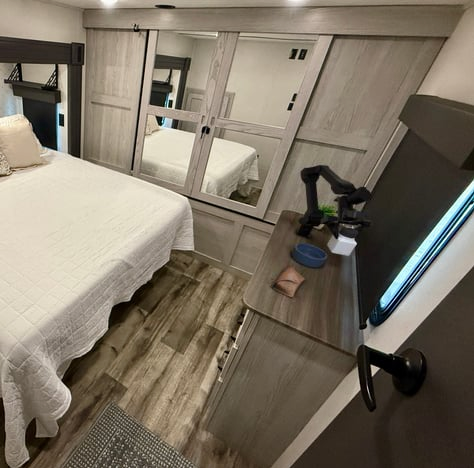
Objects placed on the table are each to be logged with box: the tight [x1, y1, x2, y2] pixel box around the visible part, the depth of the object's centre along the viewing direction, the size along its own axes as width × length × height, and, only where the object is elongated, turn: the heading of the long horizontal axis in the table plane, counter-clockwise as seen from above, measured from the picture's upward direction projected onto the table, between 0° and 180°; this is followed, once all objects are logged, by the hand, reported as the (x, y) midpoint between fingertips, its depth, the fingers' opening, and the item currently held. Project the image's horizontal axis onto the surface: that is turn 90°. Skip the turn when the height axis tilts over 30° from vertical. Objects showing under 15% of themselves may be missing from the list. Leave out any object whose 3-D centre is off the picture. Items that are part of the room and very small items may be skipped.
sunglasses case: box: [272, 265, 306, 298], centre depth 118 cm, size 18×7×7 cm
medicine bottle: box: [326, 226, 358, 257], centre depth 128 cm, size 7×7×12 cm
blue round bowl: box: [290, 242, 328, 268], centre depth 134 cm, size 13×13×5 cm
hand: (346, 240), depth 127 cm, fingers closed on medicine bottle, 7 cm apart
